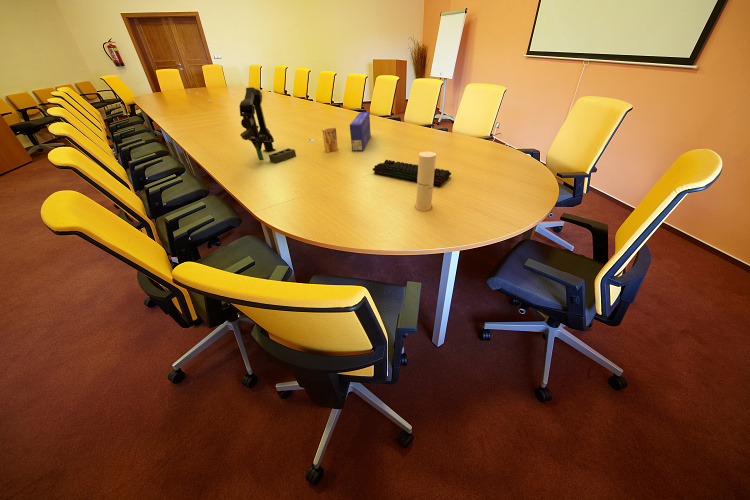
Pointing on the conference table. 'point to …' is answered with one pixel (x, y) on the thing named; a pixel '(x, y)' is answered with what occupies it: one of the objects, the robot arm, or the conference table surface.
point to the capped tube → (259, 153)
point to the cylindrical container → (425, 180)
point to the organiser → (282, 155)
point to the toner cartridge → (360, 131)
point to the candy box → (330, 139)
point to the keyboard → (408, 172)
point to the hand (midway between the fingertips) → (258, 150)
